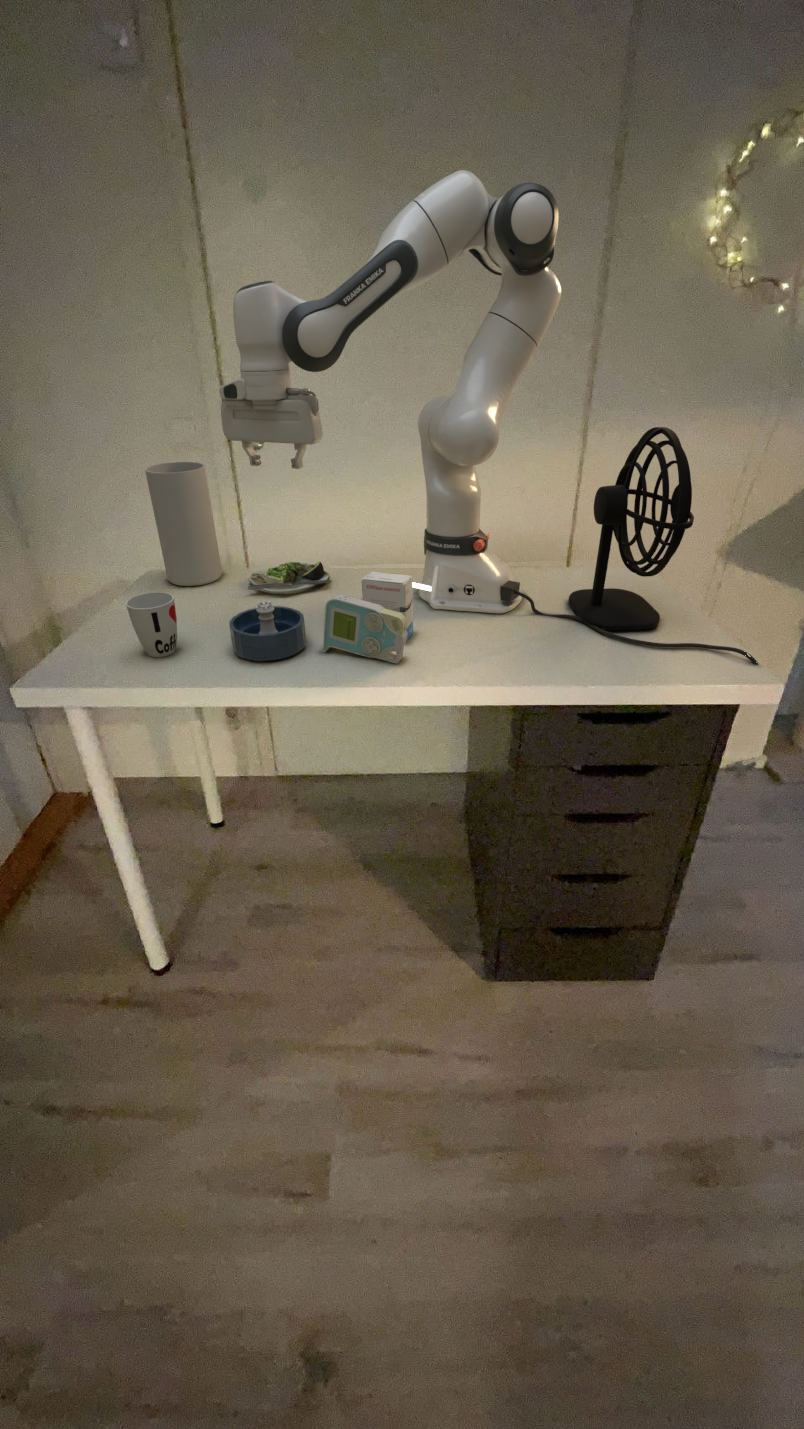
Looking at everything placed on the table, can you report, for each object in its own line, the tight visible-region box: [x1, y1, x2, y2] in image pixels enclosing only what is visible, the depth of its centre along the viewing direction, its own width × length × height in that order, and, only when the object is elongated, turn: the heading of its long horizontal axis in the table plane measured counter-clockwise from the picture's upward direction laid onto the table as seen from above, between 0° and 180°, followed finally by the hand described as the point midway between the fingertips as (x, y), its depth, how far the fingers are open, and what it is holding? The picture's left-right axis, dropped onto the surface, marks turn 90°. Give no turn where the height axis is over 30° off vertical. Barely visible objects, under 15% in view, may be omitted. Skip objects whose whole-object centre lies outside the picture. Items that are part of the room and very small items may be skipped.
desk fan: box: [568, 426, 695, 631], centre depth 124 cm, size 27×18×35 cm, turn 3°
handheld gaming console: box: [322, 594, 408, 664], centre depth 116 cm, size 11×3×15 cm
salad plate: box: [247, 561, 332, 595], centre depth 149 cm, size 19×18×5 cm
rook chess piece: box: [256, 601, 278, 634], centre depth 119 cm, size 4×4×8 cm
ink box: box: [361, 571, 414, 641], centre depth 123 cm, size 8×5×12 cm, turn 71°
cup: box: [125, 591, 178, 658], centre depth 118 cm, size 8×8×10 cm
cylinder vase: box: [144, 461, 223, 587], centre depth 148 cm, size 12×12×25 cm
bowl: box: [228, 605, 307, 662], centre depth 120 cm, size 13×13×6 cm
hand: (276, 466), depth 127 cm, fingers open, 8 cm apart
